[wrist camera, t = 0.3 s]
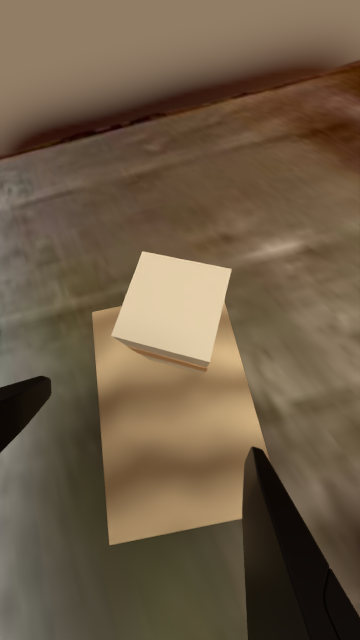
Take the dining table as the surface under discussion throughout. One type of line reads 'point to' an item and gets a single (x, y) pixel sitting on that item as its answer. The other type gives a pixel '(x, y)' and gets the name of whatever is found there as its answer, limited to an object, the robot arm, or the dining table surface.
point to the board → (172, 436)
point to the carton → (173, 311)
